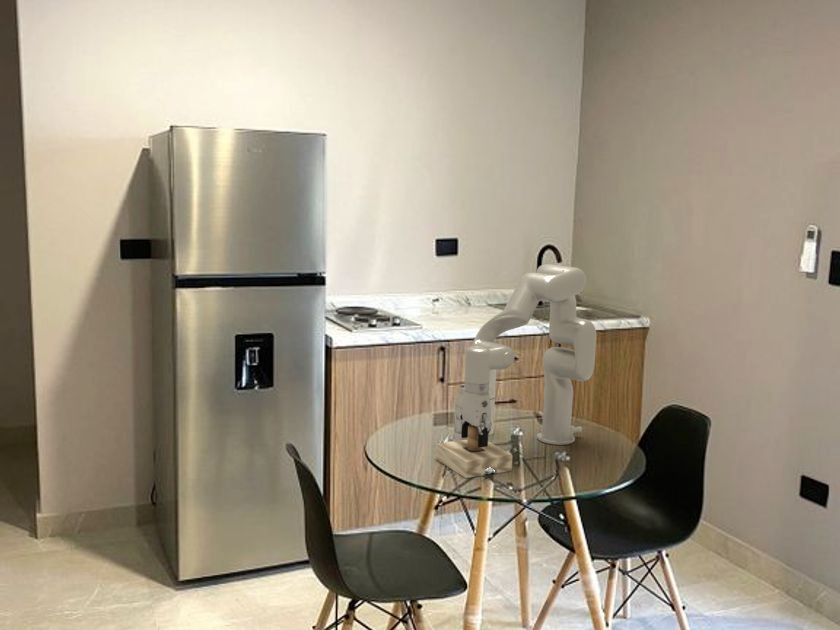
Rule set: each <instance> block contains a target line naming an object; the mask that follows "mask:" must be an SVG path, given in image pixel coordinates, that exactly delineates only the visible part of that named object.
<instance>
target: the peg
mask: <svg viewBox="0 0 840 630" xmlns="http://www.w3.org/2000/svg"><path fill="white" fill-rule="evenodd" d="M481 428H482V427H481ZM478 434H480V433H479V430H478V427H476V426H474V425H470V426H468V441H467V446H468V447H467V451H468V452H470V453H474V452H480V451H481V448H479V447H478Z"/></svg>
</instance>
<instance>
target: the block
mask: <svg viewBox="0 0 840 630" xmlns="http://www.w3.org/2000/svg"><path fill="white" fill-rule="evenodd" d="M467 441H468V439H467V440H460V441H453V440H452V441H446V442H440V443H437V444H436V459H435V460H437V461H439V462H441V463H442V464H444V465H445V466H446V467H448V468H449V469H451V470H453V471H454V472H455V473H457V474H459V475H460V476H462V477H463V478H465V479H468V478H469V479H470V478H475V477H481V476H484V475H483V472H484V471H485V469H487V468H489V467H491V468H493V469H494V470H495V474H500V473H501V474H502V473H508V472H512V471H513V470H512V468H513V454H511V453H509V452H508V451H506V450H505V449H502V448H501V447H499V446H498V445H495V444H494V443H491V442H490V441H488V446H487V447H480V448H481V451H480V452H474V453H470V452H468V451H467V447H468V446H467Z"/></svg>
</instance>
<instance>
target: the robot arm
mask: <svg viewBox="0 0 840 630" xmlns="http://www.w3.org/2000/svg"><path fill="white" fill-rule="evenodd" d="M586 283H587V277H586V274H585V272H584V271H583V270H582V269H580V268H579V267H575V266H566V265H559V264H551V263H548V264H547V263H545V264H542V265H539V266H538V268H537V269H536V272H527V273H525V274H523V275H522V277H520V279H519V281H518V282H517V284H516V287H515V289H514V291H513V293H512V294H511V296H510V297H509V300H508V301H507V303H506V306H505V307H504V308H503V310H502V311H500V312H499V313H498V314H496V315H494V316H493V317H491V318H490V319H489V320H487V322H485V323H484V324H483V325H482V327H480V329H479V330H478V332H477V334H476V335H475V337H474V339H473V341H472V343H471V346H468V347H467V348H466V350H465V356H464V357H465V359H464V360H465V361H464V362H465V363H464V364H465V365H464V384H463V385H464V396H463V405H462V407H461V408H460V409H459V410H460V418H461V420H462V421H461V424H462V433H461V437H462V438H467V437H468V426H470V425H474V426H476V427H478V430H479V433H480V434H478V447H479V448H480V447H487V446H488V442H489V435H488V434H489V433H490V431H491V427H492V422H491V402H490V394H488V393H489V382H490V370H496V371H498V370H500V371H501V370H506V369H508V368H510V367H511V366H512V365H513V363H514V361H515V352H514V351H513V349H512V348H511V347H509V346H507V345H505V344H500V343H497V342H494V341H495V340H496V338H498V337H499V336H500V335H501V334H503V333H505V332H507V331H511V330H514V329H518V328H521V327H524V326H526V325H527V324H528V323H529V322H530V321H531V318H532V316H533V314H534V312H535V310H536V309H537V307H538V305H539V302H547V303H550V304H549V306H550V308H549V311H550V312H549V325H548V327H549V328H548V330H549V331H548V332H549V333H548V334H549V338H550V340H551V341H553V342H554V343H556V344H559V345H564V346H569V347H573V348H574V349H572V348H567V347H563V346H553V347H549V348H548V349H547V350H545V352H544V355H543V357H542V366H543V367H542V369H543V374H544V375H543V376H544V389H543V390H544V391H543V408H542V423H541V424H542V425H541V431H540V432H538V433H537V434H536V439H537V440H538V441H540V442H542V443H545V444H547V445H548V444H550V445H555V446H557V445H559V446H560V445H561V446H562V445H563V446H564V445H570V444H573V443H575V440H576V438H575V435H574V434H575V433H581V432H582V431H583V427H582V426H574V425H572V416H573V415H572V414H573V413H572V411H573V399H574V387H573V383H572V380H574V381H578V382H586V381H589V379H591V377H592V376H593V374H594V370H595V365H596V364H595V363H596V348H597V330H596V327H595V325H594V323H593V322H592V321H591V320H588V319H586V318H581V317H577V299H576V296H577V295H579V294H580V293H581V292H582V291H583V290H584V288H585V287H586ZM481 423H483V424H481ZM481 427H484V429H483V430H482V428H481Z"/></svg>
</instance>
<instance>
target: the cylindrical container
mask: <svg viewBox="0 0 840 630" xmlns="http://www.w3.org/2000/svg"><path fill="white" fill-rule="evenodd" d="M496 381H497V370H490V382H489V393H488V394H490V402H491V422H492V427H491V431H490V433H489V434H488V436H491V435H493V434H494V425H495V424H494V423H495V406H496V403H495V402H496V384H497V382H496ZM481 424H483V423H481ZM483 429H484V427H482V430H483Z"/></svg>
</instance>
